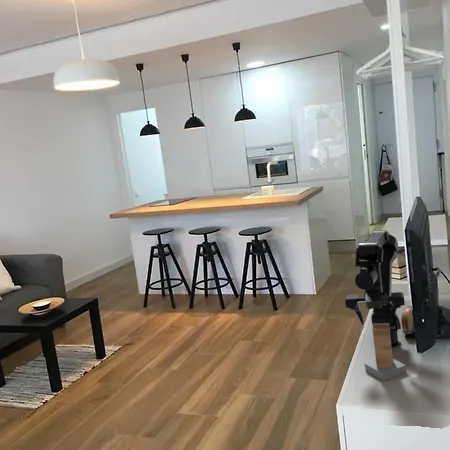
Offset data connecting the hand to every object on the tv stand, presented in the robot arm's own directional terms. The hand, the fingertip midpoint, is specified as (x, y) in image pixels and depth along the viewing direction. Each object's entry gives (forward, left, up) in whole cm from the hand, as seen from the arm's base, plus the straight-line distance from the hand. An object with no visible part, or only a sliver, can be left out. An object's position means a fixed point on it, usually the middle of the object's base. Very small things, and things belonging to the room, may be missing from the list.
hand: (377, 324), depth 169 cm
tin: (-24, -12, -13) cm, 30 cm away
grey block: (+4, +7, -13) cm, 15 cm away
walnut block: (+4, +7, -10) cm, 13 cm away
